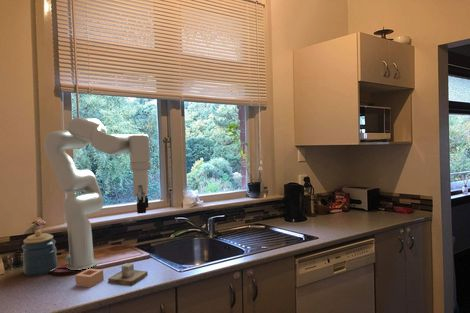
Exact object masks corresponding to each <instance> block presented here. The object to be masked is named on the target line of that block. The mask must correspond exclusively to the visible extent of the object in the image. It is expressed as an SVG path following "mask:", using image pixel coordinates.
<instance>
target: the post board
mask: <svg viewBox="0 0 470 313" xmlns="http://www.w3.org/2000/svg"><path fill="white" fill-rule="evenodd" d="M120 267H121V271H119V272H117V273H115V274H113V275H112V276H110V277H108V278H107V279H108V280H107V282H108V283H111V284H120V285H128V286H133V285H135V284H136V283H138V282H140V281H141V280H142V279H144V278H146V277H147V276H148V272H149V271H147V270H138V269H137V270H136V269H135V267H134V263H129V262H128V263H127V262H126V263H124V264H122V265H121V266H120Z"/></svg>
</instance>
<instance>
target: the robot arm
mask: <svg viewBox="0 0 470 313" xmlns="http://www.w3.org/2000/svg"><path fill="white" fill-rule="evenodd" d="M66 126H67V130H55V131H51V132H49V133H47V135H46V136H45V138H44V142H43V147H44V152H45V154H46V156H47V158H48V160H49V162H50V164H51V165H52V169H53V170H54V175H55V177H56V180H57V182H58V183H57V184H58V187H59V188H60V190H61V192H63V193H65V194H72V193H77V194H73V195H69V196H68V197H66V198H65V199H64V200H63V204H62V210H63V213H64V216H65V219H66V220H65V221H66V228H67V236H68V237H67V240H68V250H69V251H68V252H69V254H67V255H66V257H64V261H65V262H68V263H67V265H66V269H67V268H68V269H71V270H79V269H86V270H87V269H88V268H89V269H92V268H94V267H95V265H96V266H97V265H98V263H99V261H98V259H96V258H94V247H93V246H94V244H93V232H92V224H91V222H90V220H89V218H88V217H87V215H90V214H93V213H97V212H100V211H101V210H102V209H103V207H104V198H103V195H102V194H103V193H102V191H101V188H100V186H99V182H98V180H97V177H96V175H95V174H94V172H93V171H91V170H90V169H86V168H85V169H84V168H83V169H82V168H81V169H77V167H76V165H75V162H74V160H73V158H72V156H70V155H69V154H68V153H67V152H66V151H67V150H80V149H84V148H86V147H88V145H90V144H91V145H92V147H93V149H95V150H97V151H99V152H100V153H104V154H106V155H114V156H115V155H122V154H123V155H124V154H129V163H130V164H129V165H130V166H129V167H130V171H131V172H132V189H133V191H132V192H133V198H136V213H137V214H138V215H139V214H146V213H147V209H148V208H149V197H148V194H149V172H148V171H151V170H152V168H151V166H152V165H151V152H150V137H149V135H148V134H144V133H138V134H136V133H135V134H130V133H129V134H128V133H127V134H125V133H124V134H121V133H120V134H119V133H118V134H111V133H110V134H109V133H108V129H107V128H106V126H104V124H103V123H102V122H101V121H100V120H99V119H98V118H96V117H74V118H71V120H70V121H69V122H68V123H67V125H66ZM81 191H82V193H78V192H81ZM93 266H94V267H93ZM91 267H92V268H91ZM68 269H67V270H68Z"/></svg>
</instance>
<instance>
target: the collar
mask: <svg viewBox="0 0 470 313" xmlns="http://www.w3.org/2000/svg"><path fill="white" fill-rule="evenodd" d="M104 280H105V279H104V269H97V268H89V269H86V270H82V271H80V272H78V273H77V274H75V285H76V286H79V287H87V288H92V287H94V286H96V285H97V284H99V283H101V282H102V281H104Z"/></svg>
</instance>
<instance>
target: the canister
mask: <svg viewBox="0 0 470 313" xmlns="http://www.w3.org/2000/svg"><path fill="white" fill-rule="evenodd" d="M56 242H57V241H56V240H55V239H54V235H52V234H50V233H47V232H43V233H42V231H41V230H35V231H34V234H31V235H28V236H27V237H26V238H24V239H23V244H22V245H21V249H22V250H23V253H22V260H23V261H22V262H23V273H24V275H25V276H27V277H37V276H43V275H44V276H45V275H47V274H50V273H51V272H50V270H52V269H54V268H56V267H57V268H58V266H59V263H58V257H57V247H56V245H55V244H56ZM49 272H50V273H49Z"/></svg>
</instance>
